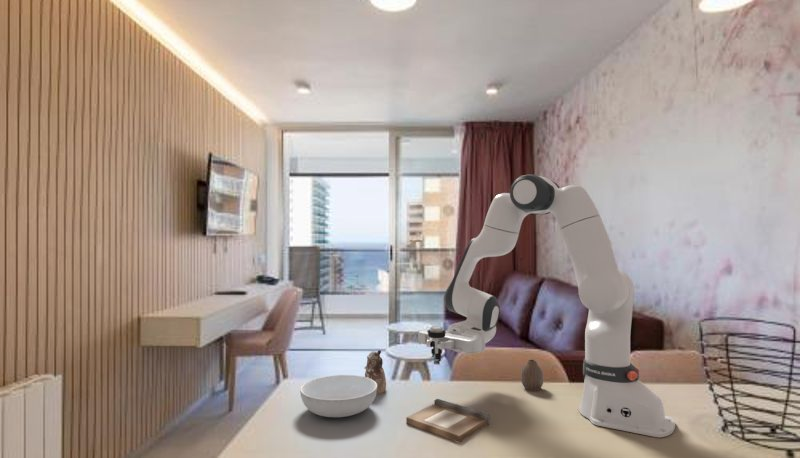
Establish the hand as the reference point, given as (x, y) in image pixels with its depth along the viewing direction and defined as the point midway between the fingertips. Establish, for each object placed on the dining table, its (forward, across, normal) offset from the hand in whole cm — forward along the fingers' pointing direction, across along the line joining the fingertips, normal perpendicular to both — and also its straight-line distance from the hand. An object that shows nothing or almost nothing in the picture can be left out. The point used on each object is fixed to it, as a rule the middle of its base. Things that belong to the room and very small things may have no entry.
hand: (433, 345), depth 127 cm
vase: (-31, +15, +17) cm, 38 cm away
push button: (-1, 0, +5) cm, 5 cm away
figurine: (+3, -20, +17) cm, 27 cm away
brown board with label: (+9, +11, +17) cm, 22 cm away
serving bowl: (+21, -16, +17) cm, 32 cm away
